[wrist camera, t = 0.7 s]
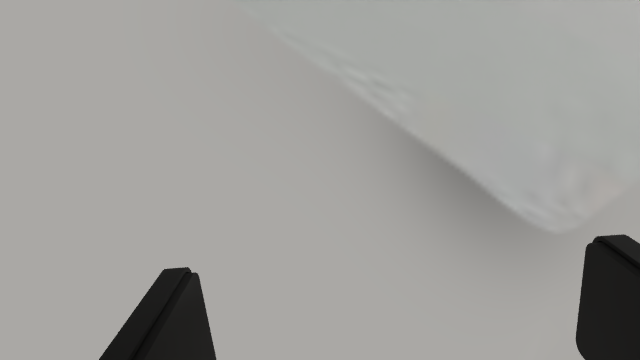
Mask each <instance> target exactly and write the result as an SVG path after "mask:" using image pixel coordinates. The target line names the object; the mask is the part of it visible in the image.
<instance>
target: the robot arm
mask: <svg viewBox="0 0 640 360" xmlns="http://www.w3.org/2000/svg"><path fill="white" fill-rule="evenodd" d="M576 344H577V347H578V350H579V352H580V354H581V355H582V356H583V358H584V359H585V360H640V244H639V243H638V242H636V241H635V240H633V239H632V238H630V237H629V236H626V235H610V236H598V237H596V238H595V239H594V240H593V242H592V243H590V244H588V245H587V247H586V251H585V261H584V269H583V278H582V287H581V296H580V305H579V313H578V322H577V331H576ZM99 360H216V356H215V351H214V346H213V342H212V337H211V332H210V327H209V322H208V317H207V313H206V308H205V303H204V298H203V294H202V289H201V284H200V279H199V276H198V274H197V273H192V272H191V270H190V269H189V268H188V267H187V268H186V267H185V268H173V269H164V270H163V271H162V272H161V274H160V275H159V277H158V278H157V279H156V281H155V282H154V284H153V285H152V286H151V288H150V289H149V291H148V292H147V293H146V295H145V296H144V297H143V299H142V300H141V302H140V303H139V305H138V306H137V307H136V309H135V310H134V311H133V313H132V314H131V316H130V317H129V318H128V320H127V321H126V323H125V324H124V325H123V327H122V328H121V330H120V331H119V332H118V334H117V335H116V337H115V338H114V339H113V341H112V342H111V344H110V345H109V346H108V348H107V349H106V350H105V352H104V353H103V355H102V356H101V357H100V359H99Z"/></svg>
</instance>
